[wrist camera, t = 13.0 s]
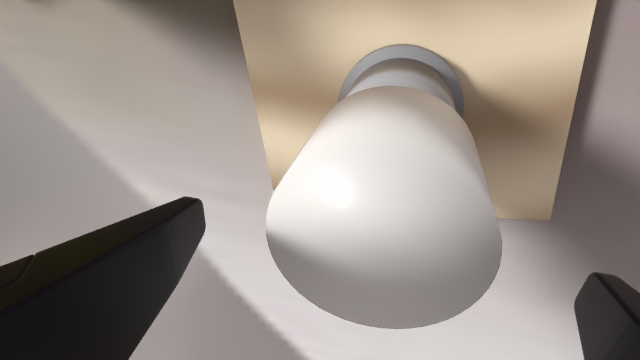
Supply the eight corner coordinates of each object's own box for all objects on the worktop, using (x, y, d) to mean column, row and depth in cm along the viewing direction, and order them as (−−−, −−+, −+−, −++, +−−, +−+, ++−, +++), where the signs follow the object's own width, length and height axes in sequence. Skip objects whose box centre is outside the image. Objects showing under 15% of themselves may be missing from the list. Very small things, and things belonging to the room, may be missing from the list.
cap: (437, 252, 13) (442, 355, 9) (294, 204, 13) (250, 285, 10) (512, 118, 10) (559, 196, 7) (329, 62, 10) (284, 108, 7)
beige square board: (237, -23, 16) (135, -17, 11) (601, -79, 13) (753, -117, 7) (283, 202, 22) (233, 287, 16) (544, 208, 18) (601, 322, 13)
